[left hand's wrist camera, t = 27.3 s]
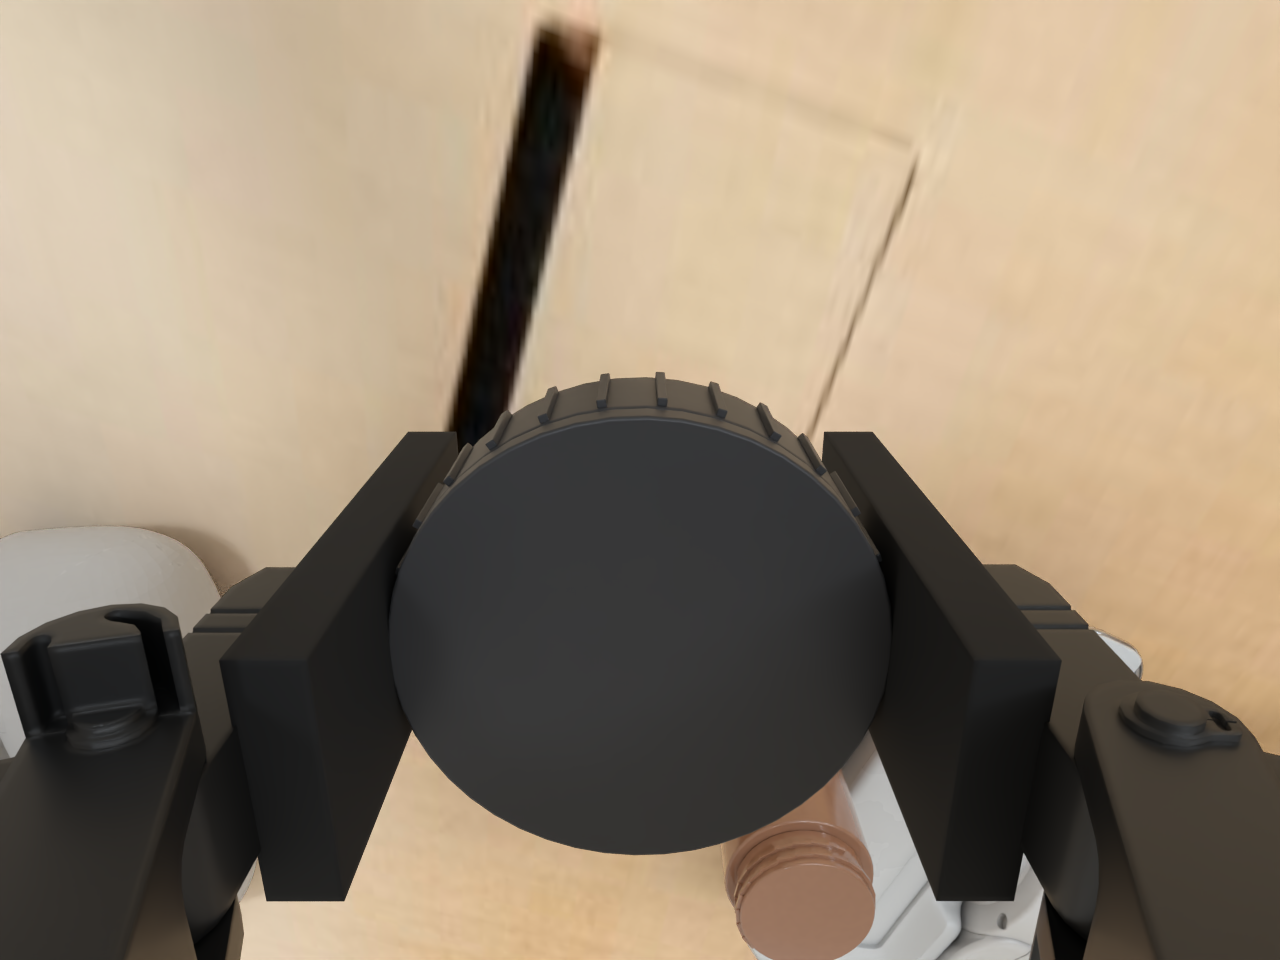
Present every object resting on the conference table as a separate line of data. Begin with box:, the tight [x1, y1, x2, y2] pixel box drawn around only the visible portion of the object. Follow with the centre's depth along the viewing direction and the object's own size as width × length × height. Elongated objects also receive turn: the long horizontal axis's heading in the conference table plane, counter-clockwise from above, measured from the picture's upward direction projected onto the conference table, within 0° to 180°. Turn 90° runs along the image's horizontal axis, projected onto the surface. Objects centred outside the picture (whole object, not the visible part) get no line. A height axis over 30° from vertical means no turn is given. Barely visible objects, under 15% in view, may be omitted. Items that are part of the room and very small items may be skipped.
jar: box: [720, 768, 876, 960], centre depth 35 cm, size 5×5×16 cm
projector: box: [0, 526, 257, 902], centre depth 37 cm, size 22×23×15 cm
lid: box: [388, 372, 893, 855], centre depth 11 cm, size 6×6×2 cm
